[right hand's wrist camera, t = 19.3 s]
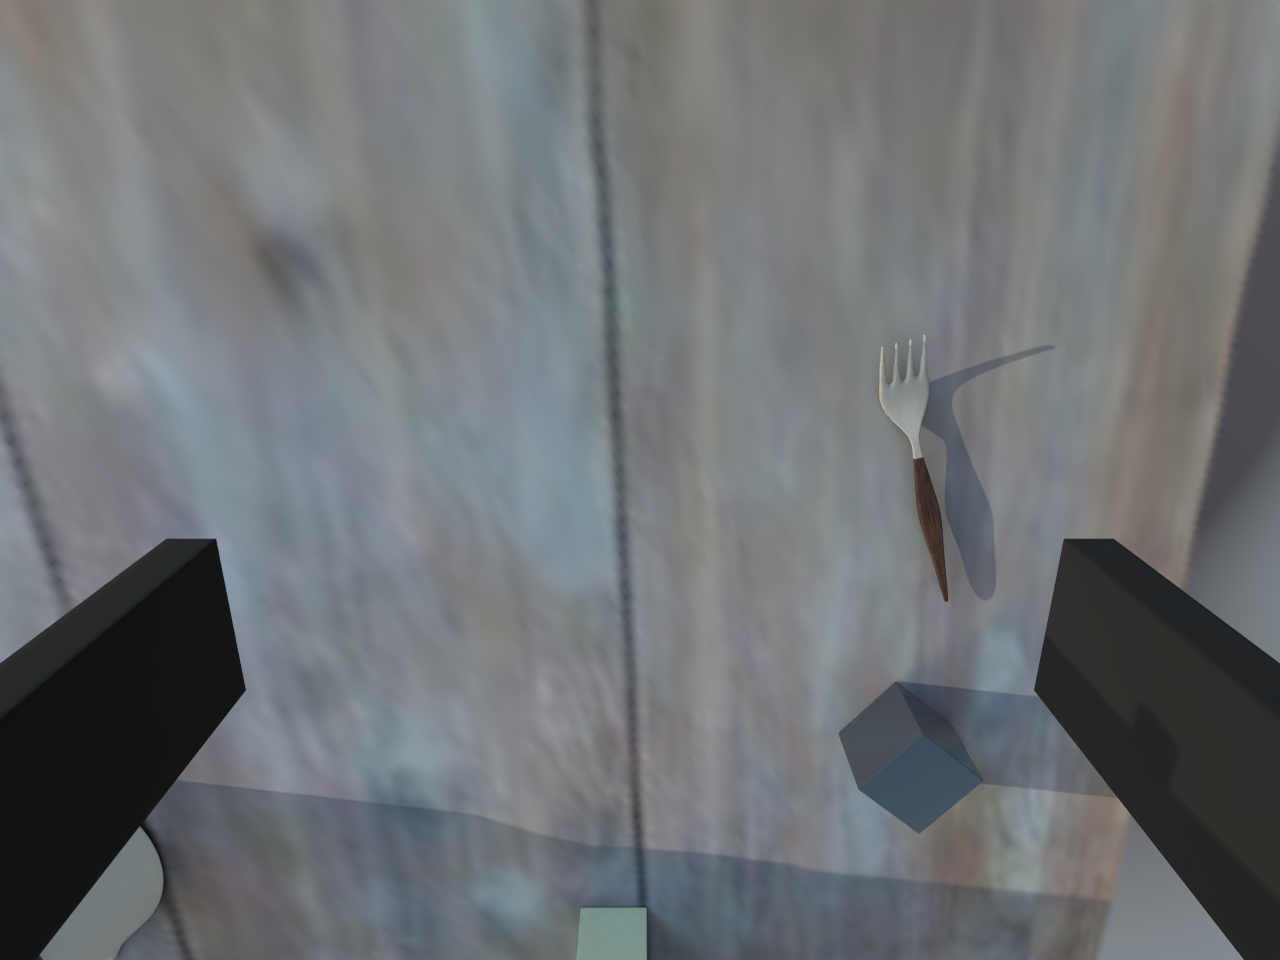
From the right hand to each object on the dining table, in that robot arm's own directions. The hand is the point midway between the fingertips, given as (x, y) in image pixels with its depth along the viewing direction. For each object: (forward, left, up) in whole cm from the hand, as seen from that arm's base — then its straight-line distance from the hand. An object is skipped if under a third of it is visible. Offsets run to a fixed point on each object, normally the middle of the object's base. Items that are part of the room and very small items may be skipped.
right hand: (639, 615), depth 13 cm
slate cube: (-1, +30, -31) cm, 43 cm away
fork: (-9, +15, -31) cm, 35 cm away
